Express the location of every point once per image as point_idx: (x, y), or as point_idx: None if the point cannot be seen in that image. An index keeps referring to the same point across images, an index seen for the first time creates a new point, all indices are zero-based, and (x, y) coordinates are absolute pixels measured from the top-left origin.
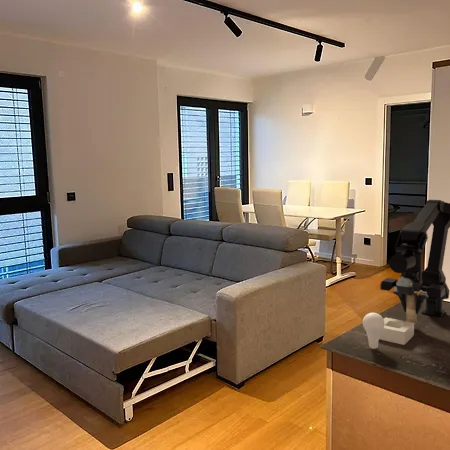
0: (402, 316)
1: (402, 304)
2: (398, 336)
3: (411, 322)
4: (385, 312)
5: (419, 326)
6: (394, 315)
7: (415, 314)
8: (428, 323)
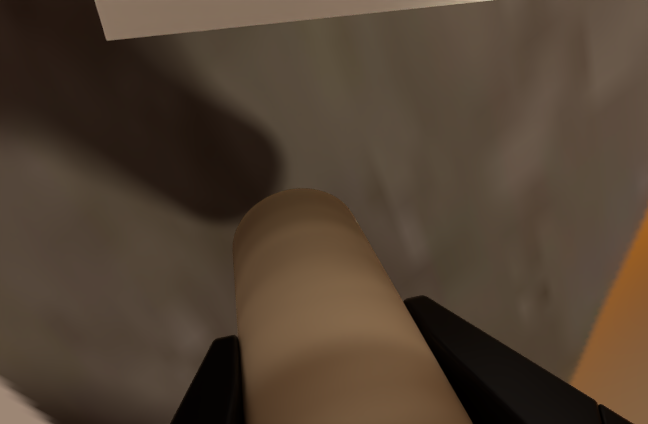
0: None
1: (547, 381)
2: None
3: (162, 30)
4: (578, 354)
5: None
6: None
7: (242, 325)
8: None
